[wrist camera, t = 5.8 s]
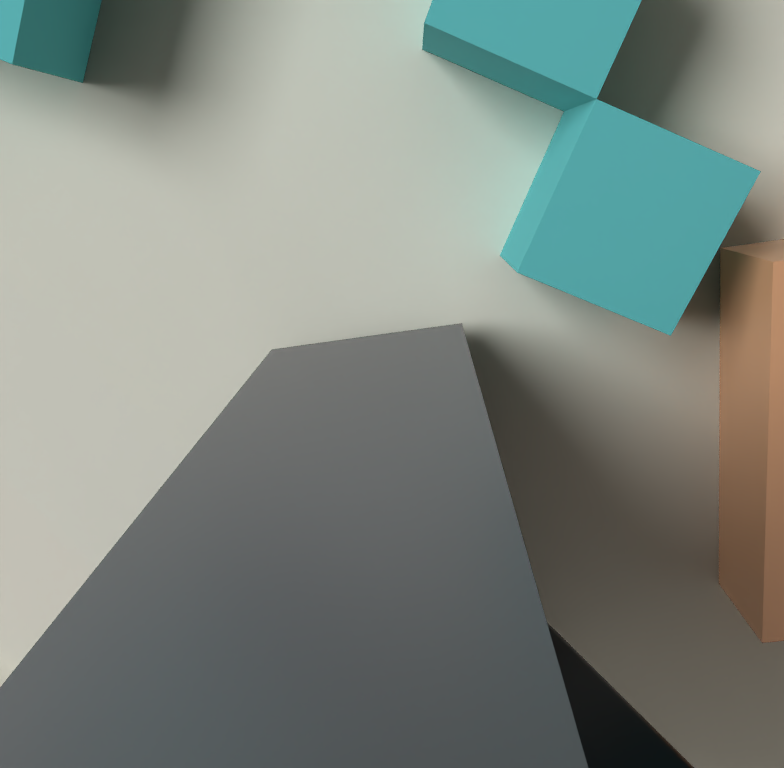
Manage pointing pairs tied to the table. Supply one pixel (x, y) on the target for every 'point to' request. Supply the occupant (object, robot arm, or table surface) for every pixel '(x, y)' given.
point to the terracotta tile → (752, 434)
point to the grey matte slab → (312, 590)
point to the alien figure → (562, 159)
